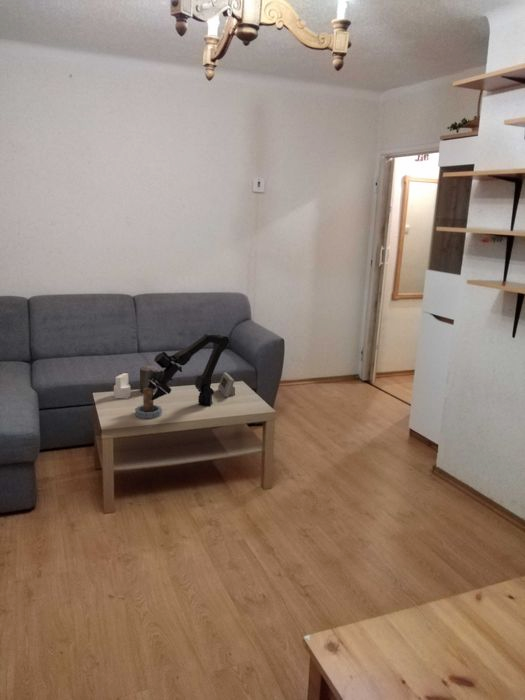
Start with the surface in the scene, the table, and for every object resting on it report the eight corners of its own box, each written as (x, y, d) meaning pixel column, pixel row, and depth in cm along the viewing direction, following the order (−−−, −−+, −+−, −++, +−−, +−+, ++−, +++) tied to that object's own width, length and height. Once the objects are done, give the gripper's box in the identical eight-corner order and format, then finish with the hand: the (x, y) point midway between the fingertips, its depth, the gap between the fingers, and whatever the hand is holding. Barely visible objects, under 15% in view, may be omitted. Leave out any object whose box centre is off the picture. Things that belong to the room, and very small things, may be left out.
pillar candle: (136, 391, 315) (136, 366, 312) (147, 387, 324) (147, 362, 320) (150, 394, 311) (149, 369, 307) (160, 390, 319) (160, 365, 316)
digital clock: (217, 389, 325) (218, 371, 322) (233, 389, 326) (233, 371, 323) (219, 398, 309) (219, 379, 306) (235, 397, 310) (236, 379, 308)
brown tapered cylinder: (153, 410, 284) (153, 387, 281) (153, 414, 279) (153, 390, 276) (143, 411, 283) (143, 387, 280) (143, 414, 278) (143, 390, 275)
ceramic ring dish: (165, 411, 286) (165, 406, 285) (155, 419, 273) (155, 414, 273) (141, 408, 288) (141, 403, 288) (131, 417, 276) (130, 411, 275)
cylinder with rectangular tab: (119, 392, 312) (118, 372, 309) (133, 394, 310) (133, 374, 307) (111, 397, 304) (110, 376, 301) (125, 399, 301) (125, 378, 299)
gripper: (150, 359, 285) (130, 383, 282) (164, 368, 270) (144, 393, 267) (165, 372, 291) (145, 395, 288) (179, 381, 276) (159, 406, 273)
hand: (148, 397), depth 279 cm, fingers open, 9 cm apart
